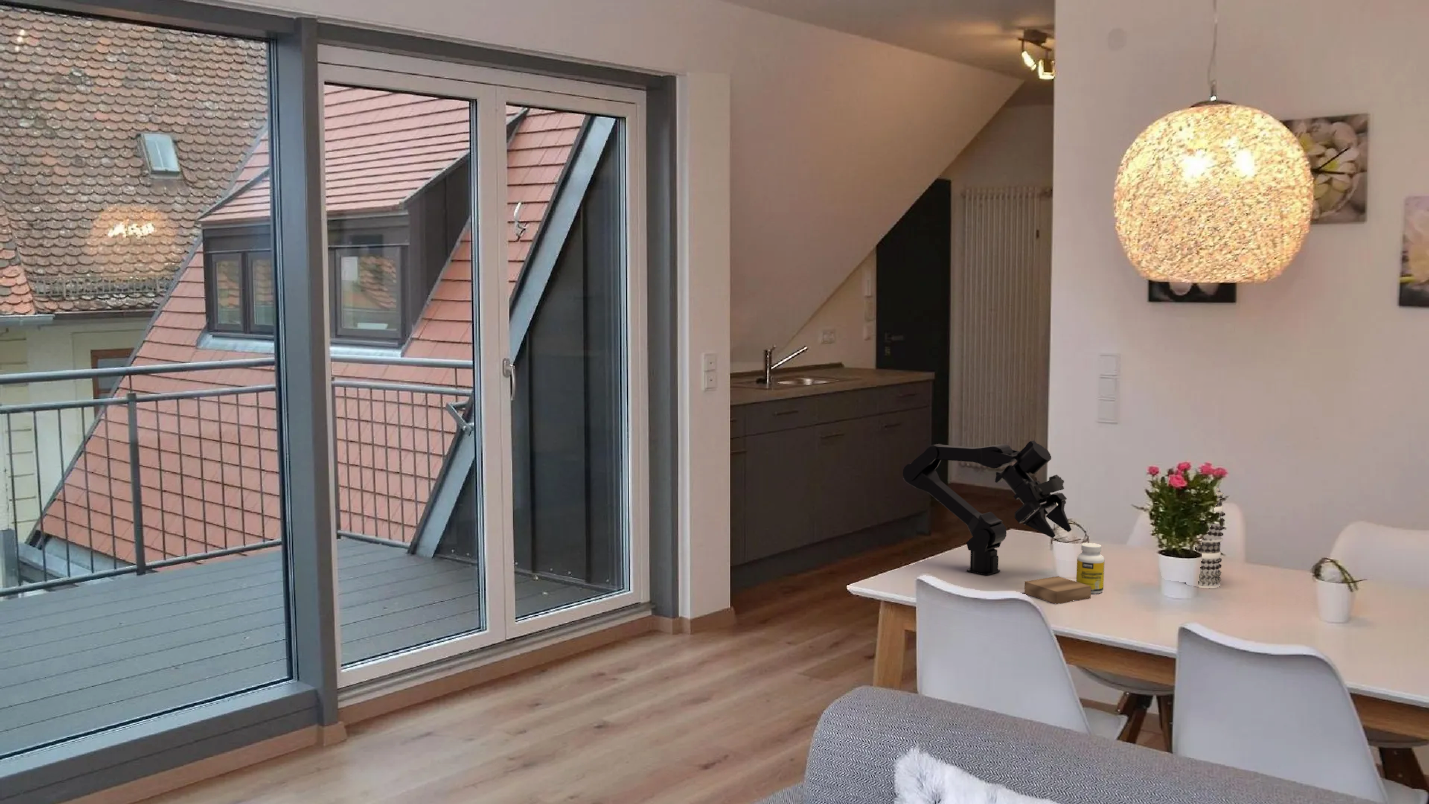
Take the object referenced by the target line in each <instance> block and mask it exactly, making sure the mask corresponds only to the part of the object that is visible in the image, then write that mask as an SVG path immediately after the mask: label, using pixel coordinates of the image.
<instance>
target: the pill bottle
mask: <svg viewBox="0 0 1429 804" xmlns="http://www.w3.org/2000/svg"><path fill="white" fill-rule="evenodd" d="M1080 550H1081V551H1082V552H1081V553H1079V554H1077V556H1076V578H1075V582H1079V583H1082V584H1085V585H1089V586H1091V595H1092V594H1093V595H1094V594H1095V595H1097V594H1100V593H1101V594H1102V593H1103V591H1104V583H1105V582H1104V581H1105V556H1103V555H1102V554H1101V552H1102V545H1101V544H1099V543H1094V542H1085V543H1081V548H1080Z"/></svg>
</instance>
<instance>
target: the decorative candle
mask: <svg viewBox="0 0 1429 804" xmlns="http://www.w3.org/2000/svg"><path fill="white" fill-rule="evenodd" d="M1216 487H1217V489H1216V494H1217V497H1218V498H1222V500H1220V501H1219V502H1218V503H1217V505H1216V507H1215V508H1214V511H1216V512H1217V513H1220V519H1221V523H1224V522H1225V521H1226V520H1225V518H1224V517H1225V516H1226V513H1225V512H1224V511H1223V510H1224V505H1223V497H1224V495H1225V494H1224V492H1223V491H1221V489H1220V488H1219V487H1218V486H1216ZM1224 530H1225V527H1224V526H1223V525H1222V526H1220V525H1219V524H1211V527H1210V529H1209V532H1208V535H1207V536H1205V537H1204V539H1202V545H1198V546H1197V547H1195V550H1196V551H1198V552H1200V553H1202V561H1201V567H1200V574H1199V581H1198V586H1199V588H1198V589H1209V588H1210V589H1217V587H1218V588H1220V587H1221V586H1220V585H1221V583H1220V582H1221V580H1222V577H1221V576H1222V571H1221V570H1220V569H1222V564H1221V562H1222V561H1223V560H1222V558H1221V557H1222V551H1221V542H1222V541H1223V540H1224V539H1223V536H1224V533H1223V532H1222V531H1224ZM1219 586H1220V587H1219Z"/></svg>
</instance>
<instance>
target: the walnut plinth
mask: <svg viewBox="0 0 1429 804" xmlns="http://www.w3.org/2000/svg"><path fill="white" fill-rule="evenodd" d="M1023 586H1024V588H1023V589H1024V594H1025V595H1028V596H1031V597H1034V598H1037V599H1039V600H1043V601H1046V602H1049V603H1051V604H1052V603H1053V604H1055V603H1056V604H1055V605H1059V604H1058V603H1060V604H1067V603H1071V602H1070V601H1072V602H1074V601H1073V600H1078V601H1082V600H1083V601H1085V600H1088V599H1089V598H1090V599H1091V597H1092V594H1091V586H1089V585H1085V584H1082V583H1079V582H1076V580H1071V579H1068V578H1065V577H1062V576H1050V577H1044V578H1039V579H1038V578H1037V579H1032V580H1026V581H1024V585H1023Z"/></svg>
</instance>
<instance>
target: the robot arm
mask: <svg viewBox="0 0 1429 804" xmlns="http://www.w3.org/2000/svg"><path fill="white" fill-rule="evenodd" d="M1051 460H1052V455H1051V453H1050V452H1049V450H1048V449H1047V448H1045V447H1044V446H1043V445H1041V444H1040V443H1037V442H1036V441H1035V440H1034V439H1033V440H1029V441H1028V442H1027V443H1026V445H1025V447H1023V448H1022V449H1021V450H1016V449H1012V448H1011V446H1010V445H1008V444H1007V443H1001V444H994V445H987V446H979V447H978V446H977V447H976V446H962V445H950V444H949V445H947V444H942V443H938V444H937V443H936V444H932V445H929V446H928V447H927V448H926V449H925V451H924V452H922V453H921V454H920V455H918V456H917V457H916V458H915V459H914V460H912V462H911V463H908V464H906V465H904V468H903V470H902V479H903V481H904V482H906V484H908V485H909V486H912V488H915V489H917V490H920V491H924V492H926V493H927V494H929V495H931V497H933V498H934V499H935V500H936V501H937V502H939V504H941V505H942V506H944V507H945V508H946V509H947V510H948V511H949V512H950V513H952V514H953V515H955V517H957V518H958V519H959V520H960V521H961V522H962V523H964V524H965V525H966V526H967V528H968V531H969V532H970V535H971V538H969V539H968V540H967V541H966V547H967V550H968V551H970V555H969V556H970V557H969V559H970V560H969V561H970V563H969V564H970V565H969V568H967V569H966V572H967V573H968V572H969V573H973V574H976V575H977V574H978V575H981V576H990V575H993V574H996V573H997V574H998V573H999V572H1000V573H1001V569H999V555H998V548H1000V547H1001V544H1002V542H1003V541H1005V539H1006V537H1007V527H1006V525H1005V524H1004V523H1003V522H1004V521H1003V520H1002V519H1000V518H998V517H997V515H995V514H994V513H993V512H992V511H989V512H985V513H981V512H980V511H978V510H977V509H976V508H974V507H973V506H972V505H971V504H970V503H969V502H967V500H965V499H964V498H963V497H961V496H960V495H959V494H958V493H956V492H955V491H954V490H953V489H951V488H950V486H948V485H947V484H945V483H944V482H943V481H942V480H941V477H939V474H938V472H937V470H936V469H937V468H938V467H939V465H940V464H941V461H953V462H955V461H956V462H969V463H976V464H978V465H980V466H983V467H986V468H989V469H990V468H991V469H999V468H1003V467H1005V468H1004V469H1003V470H1002V471H1001V470H999V471H996V472H995V479H994V480H995V481H994V482H995V483H997V484H998V483H1001V482H1005V483H1006V485H1008V487H1009V488H1010V490H1012V491H1011V492H1013V493H1014V495H1013V498H1014V499H1015V500H1020V502H1021V503H1022V505H1021V506H1020V507H1019V508H1018V509H1017V510H1015V512H1014V519H1015V520H1016V521H1017V523H1018V524H1022V525H1023V526H1028V527H1029V528H1031V529H1033V530H1036V531H1038V532H1040V533H1042V534H1043V535H1045V536H1047V537H1050V538H1051V539H1054V538H1055V537H1056V533H1055V531H1054V529H1052V527H1051V525H1050V523H1048V522H1049V521H1047V519H1049V520H1050V521H1051V522H1053V523H1054V524H1056V525H1057V526H1059V527H1060V528H1062V529H1063V530H1064V531H1066V532H1067V533H1070V532H1071V531H1072V526H1071V524H1070V522H1069V520H1068V517H1067V513H1066V511H1065V506H1066V504H1067V497H1066V496H1065V494H1064V493H1063V492H1058V491H1062V490H1065V486H1064V483H1065V480H1064V479H1063V478H1062V477H1061V476H1059V475H1058V474H1055V475H1053V476H1049V477H1048V480H1047V481H1044V482H1040V480H1034V479H1033V478H1032V477H1031V476H1030V475H1029V474H1031V475H1032V474H1033V475H1035V474H1037V473H1038V472H1039V471H1041V469H1042V468H1043V467H1045V465H1047V463H1049V461H1051ZM1014 462H1015V463H1014ZM1012 463H1014V464H1013V465H1012ZM1045 517H1046V518H1047V519H1046V518H1045Z"/></svg>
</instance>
